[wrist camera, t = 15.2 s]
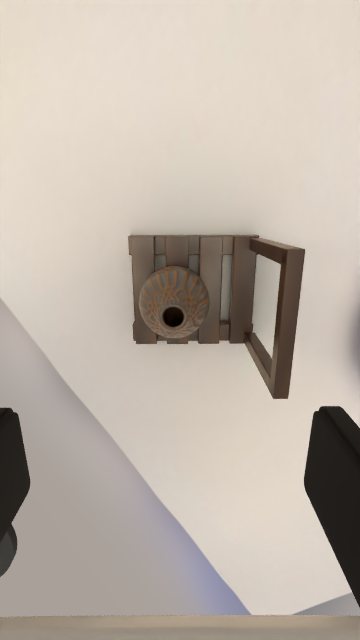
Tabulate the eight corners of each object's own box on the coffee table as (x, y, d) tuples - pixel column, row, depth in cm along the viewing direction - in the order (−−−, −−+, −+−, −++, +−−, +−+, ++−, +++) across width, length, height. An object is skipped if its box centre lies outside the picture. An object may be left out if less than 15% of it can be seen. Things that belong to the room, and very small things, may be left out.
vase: (134, 272, 34) (120, 290, 26) (196, 253, 34) (202, 265, 25) (154, 330, 36) (147, 364, 28) (213, 314, 36) (223, 343, 27)
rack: (135, 336, 39) (111, 401, 25) (130, 235, 36) (98, 246, 22) (249, 335, 39) (288, 401, 25) (256, 234, 36) (305, 246, 22)
